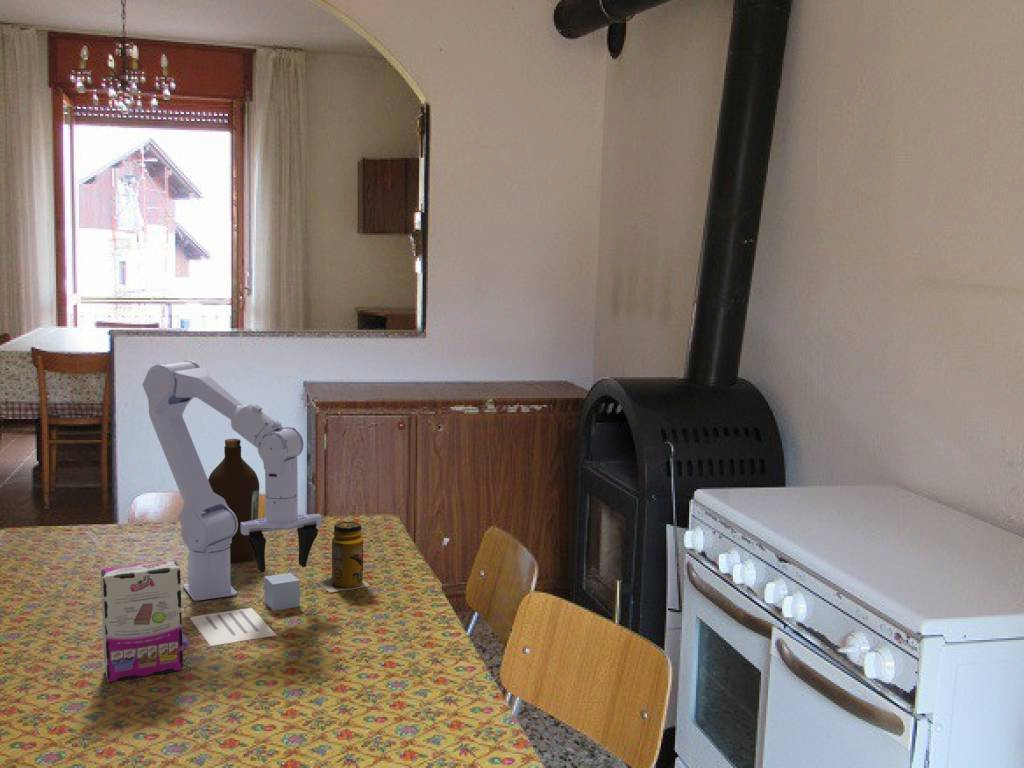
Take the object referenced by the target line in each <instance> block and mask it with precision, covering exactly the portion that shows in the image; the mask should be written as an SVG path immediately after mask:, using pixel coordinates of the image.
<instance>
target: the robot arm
mask: <svg viewBox="0 0 1024 768" xmlns="http://www.w3.org/2000/svg"><path fill="white" fill-rule="evenodd" d="M141 384H142V387H143V390H144V393H145V395H146V397H147V400H148V403H147V404H148V414H149V418H150V421H151V424H152V426H153V429H154V432H155V433H156V437H157V439H158V441H159V443H160V446H161V448H162V451H163V454H164V456H165V458H166V461H167V463H168V466H169V469H170V471H171V473H172V477H173V478H174V481H175V483H176V486H177V488H178V491H179V494H180V496H181V498H182V501H183V505H182V508H181V509H180V510H179V511H180V512H179V513H178V519H179V523H180V534H181V538H182V540H183V542H184V544H185V545H186V547H187V550H188V554H187V569H188V570H187V575H188V576H187V579H188V581H187V582H188V583H184V584H182V585H183V586H182V587H183V588H184V591H186V593H187V594H188V595H189V597H191V599H192V600H193V601H195V602H199V601H204V600H205V601H206V600H211V599H216V598H217V599H218V598H219V599H220V598H225V597H232V596H233V597H234V596H237V595H238V592H237V590H235V588H234V587H233V586H232V584H231V563H230V543H232V537H233V536H234V535H235V533H236V532H237V529H238V521H237V517H236V515H235V514H234V512H233V511H232V510H231V509H230V508H229V507H228V506H227V504H226V501H225V499H224V498H222V497H221V496H219V495H217V494H215V493H214V492H213V491H212V488H211V486H210V484H209V481H208V479H209V478H208V477H207V474H206V471H205V469H204V467H203V463H202V461H201V459H200V456H199V454H198V451H197V449H196V446H195V444H194V442H193V438H192V436H191V434H190V432H189V429H188V426H187V423H186V422H185V419H184V417H183V414H184V412H185V410H186V407H187V406H188V404H189V403H190V402H191V401H192V400H193V399H194V398H197V399H199V400H200V401H202V402H203V403H205V404H206V405H208V406H209V407H211V409H212V408H213V410H215V411H217V412H218V413H220V414H222V415H223V416H224V417H226V418H228V419H229V420H230V425H231V428H232V430H233V431H234V432H235V433H236V434H238V435H239V436H241V437H242V438H244V440H246V441H247V442H249V443H250V444H251V445H253V447H255V448H257V452H258V455H259V457H260V459H261V460H262V463H263V470H264V475H265V476H264V483H265V484H264V487H265V488H264V489H265V490H264V491H265V517H263V518H258V519H257V520H252V521H247V522H241V533H242V534H243V535H246V537H247V539H248V541H249V543H250V545H251V547H252V549H253V552H254V554H255V558H254V559H255V560H256V564H257V571H259V572H260V574H263V573H266V544H267V538H266V537H264V536H265V535H264V533H265V532H275V531H283V530H290V529H296V530H297V539H298V565H299V566H300V567H302V568H306V567H307V564H308V558H309V556H310V551H311V548H312V546H313V544H314V542H315V541H316V538H317V536H318V535H319V529H318V528H317V527H322V526H323V521H322V520H323V516H322V515H321V514H319V513H313V514H311V513H310V514H307V513H306V514H299V510H298V509H299V507H298V506H299V503H298V501H299V498H298V497H299V496H298V489H299V488H298V481H299V480H298V471H299V470H298V457H299V456H300V455H301V453H302V452H303V450H304V439H303V436H302V435H301V433H300V432H299V431H298V430H297V429H296V428H295V427H293V426H283V425H282V423H281V422H279V421H278V420H277V421H275V420H274V419H273V418H271V417H270V416H268V415H267V414H266V413H264V411H262V410H263V407H261V406H260V405H259V404H256V405H255V404H252V403H248V404H244V405H243V404H242V403H241V402H240V401H239V400H237V398H235V397H234V396H233V395H232V394H230V392H228V391H227V390H226V389H225V388H224V387H222V385H220V384H219V383H218V382H217V381H215V380H214V379H213V378H212V377H211V376H210V375H209V373H208V370H207V369H206V368H204V367H201V366H200V365H199V364H198V363H197V362H196V361H193V360H185V361H181V362H173V363H168V364H167V363H166V364H155V365H153V366H151V367H150V368H149V369H148V371H147V372H146V375H145V377H144V379H143V383H141Z"/></svg>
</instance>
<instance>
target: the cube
mask: <svg viewBox="0 0 1024 768" xmlns="http://www.w3.org/2000/svg"><path fill="white" fill-rule="evenodd" d="M263 580H264V589H263V590H264V603H265V605H267V607H269V609H271V610H272V611H273V612H276V611H280V610H286V609H292V608H299V607H301V594H300V593H301V591H300V589H301V586H300V585H301V584H300V583H301V581H300V579H299V578H297V576H295V575H294V574H293V573H291V572H288V573H279V574H273V575H267V576H266V575H265V576H264V579H263Z"/></svg>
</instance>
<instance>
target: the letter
mask: <svg viewBox="0 0 1024 768" xmlns="http://www.w3.org/2000/svg"><path fill="white" fill-rule="evenodd" d="M189 618H190V620H191V622H192V623H193V625H194V626H195V627H196V629H197V630H198V631H199V633H200V634H201V635H202V637H203V638H204V640H205V641H206V642H207V643H208V646H209V647H215V646H221V645H226V644H234V643H239V642H245V641H252V640H256V639H262V638H269V637H274V636H277V634H276V632H274V631H273V629H272V628H271V627H270V625H268V624H267V623H266V622H265V621H264V619H262V617H261V616H260V615H259V614H258V613H257V612H256V611H255V609H253V607H248V608H242V609H236V610H229V611H220V612H216V613H209V614H202V615H196V616H189Z"/></svg>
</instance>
